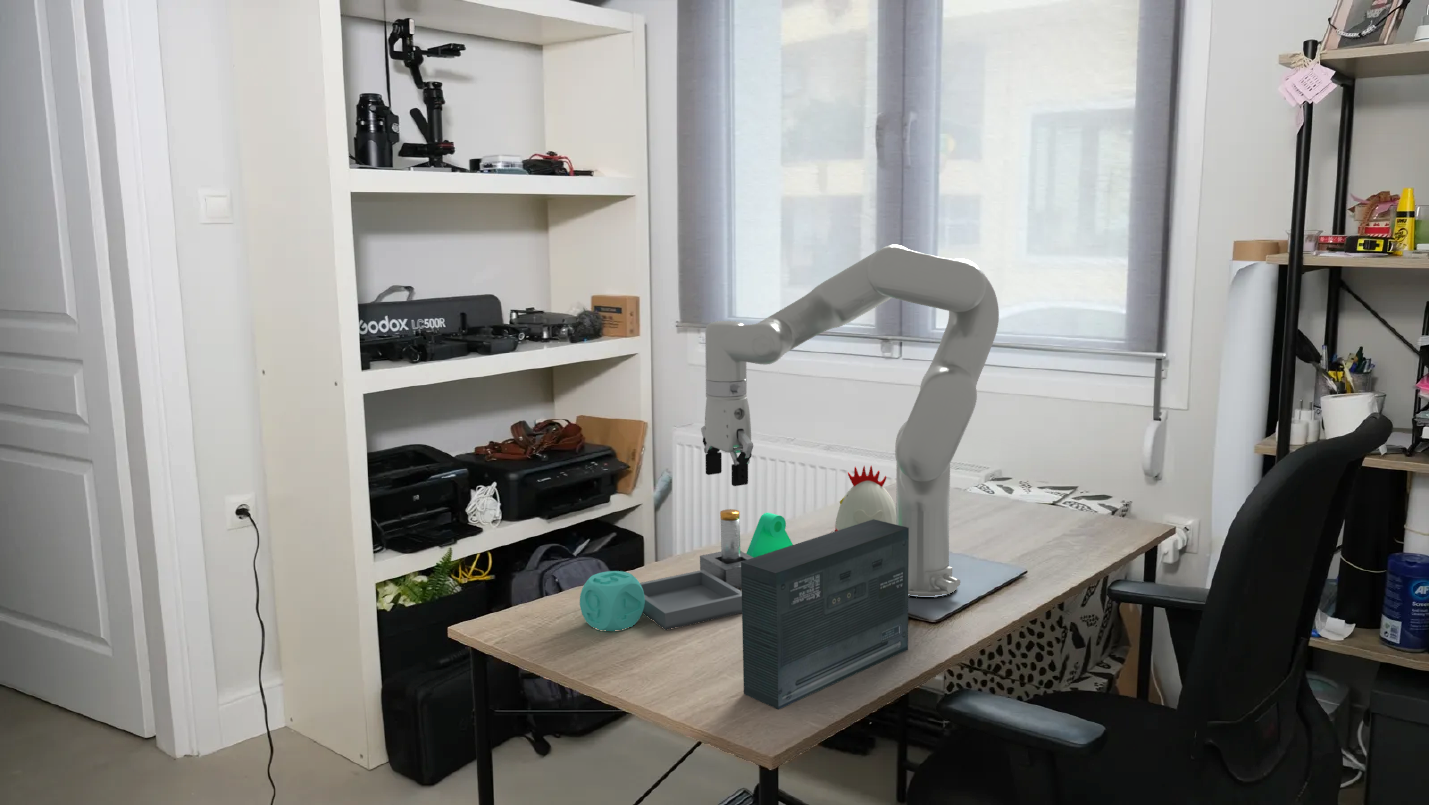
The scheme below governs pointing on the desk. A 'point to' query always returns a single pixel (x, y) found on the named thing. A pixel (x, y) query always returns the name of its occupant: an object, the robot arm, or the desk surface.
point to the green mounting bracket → (769, 535)
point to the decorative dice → (612, 600)
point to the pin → (730, 536)
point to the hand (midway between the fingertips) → (726, 479)
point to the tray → (689, 599)
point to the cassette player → (823, 610)
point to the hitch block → (723, 568)
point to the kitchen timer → (865, 501)
